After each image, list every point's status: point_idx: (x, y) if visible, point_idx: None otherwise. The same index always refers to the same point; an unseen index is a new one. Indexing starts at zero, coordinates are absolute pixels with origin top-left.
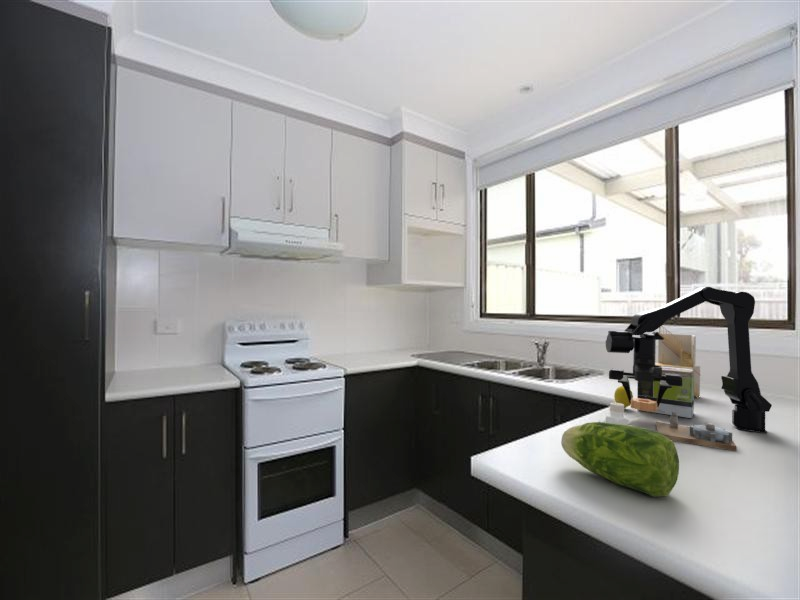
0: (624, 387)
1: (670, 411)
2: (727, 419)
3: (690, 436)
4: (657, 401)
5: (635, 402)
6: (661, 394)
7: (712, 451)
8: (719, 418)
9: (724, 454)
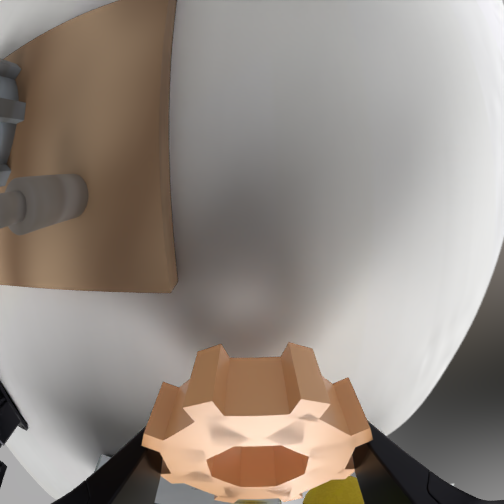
0: (469, 499)
1: (160, 481)
2: (58, 460)
3: (31, 70)
4: (136, 457)
5: (335, 417)
6: (79, 500)
7: (25, 21)
8: (70, 465)
9: (9, 26)
